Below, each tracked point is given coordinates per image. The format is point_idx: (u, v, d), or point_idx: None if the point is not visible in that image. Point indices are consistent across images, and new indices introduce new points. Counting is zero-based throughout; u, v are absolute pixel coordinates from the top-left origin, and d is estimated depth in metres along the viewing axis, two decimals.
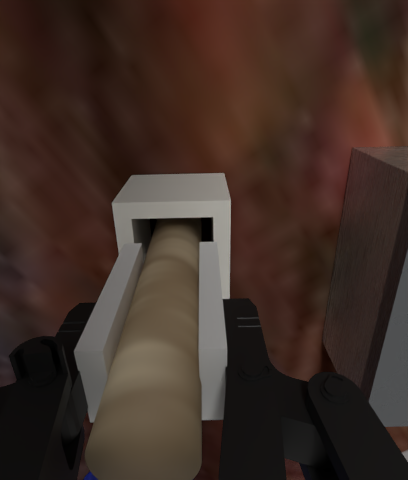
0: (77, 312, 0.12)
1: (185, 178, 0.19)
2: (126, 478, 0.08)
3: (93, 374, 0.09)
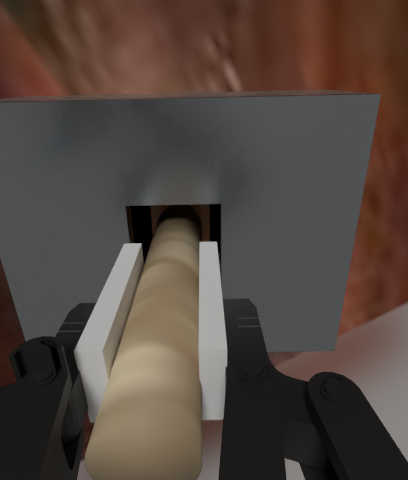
0: (77, 312, 0.12)
1: None
2: None
3: (93, 374, 0.09)
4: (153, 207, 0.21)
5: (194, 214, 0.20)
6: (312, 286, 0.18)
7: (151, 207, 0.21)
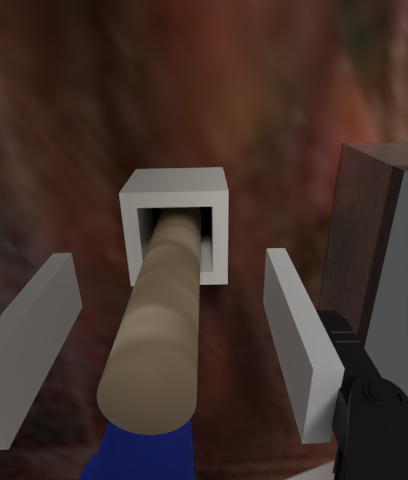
0: None
1: (186, 172, 0.21)
2: (131, 418, 0.09)
3: None
4: None
5: None
6: None
7: None
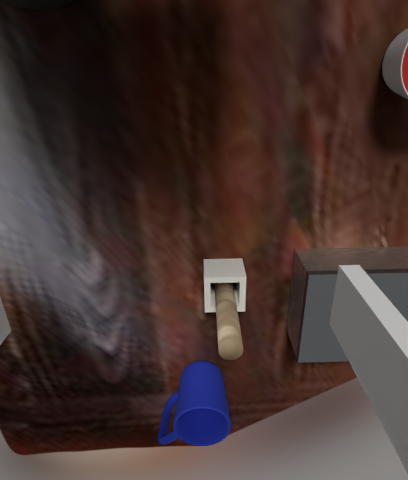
0: None
1: (226, 262, 0.48)
2: (226, 355, 0.37)
3: None
4: None
5: None
6: None
7: None
